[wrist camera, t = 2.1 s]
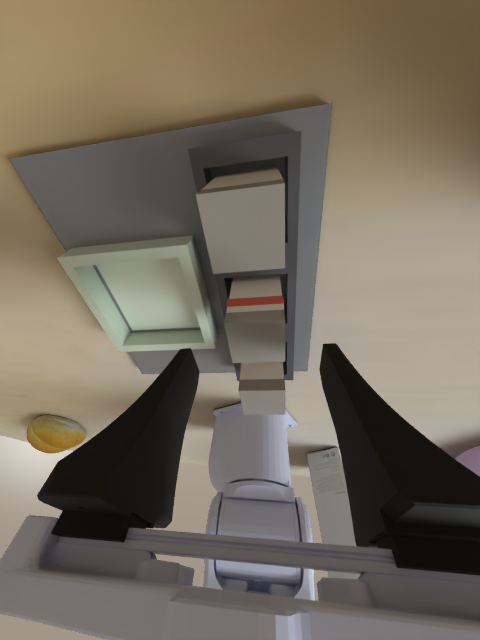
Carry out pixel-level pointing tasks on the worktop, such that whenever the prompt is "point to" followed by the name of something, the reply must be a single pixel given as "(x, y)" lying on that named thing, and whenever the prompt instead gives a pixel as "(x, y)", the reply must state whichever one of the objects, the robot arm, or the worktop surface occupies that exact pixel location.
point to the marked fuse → (256, 320)
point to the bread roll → (54, 433)
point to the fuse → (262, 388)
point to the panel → (180, 231)
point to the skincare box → (332, 501)
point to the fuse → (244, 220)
